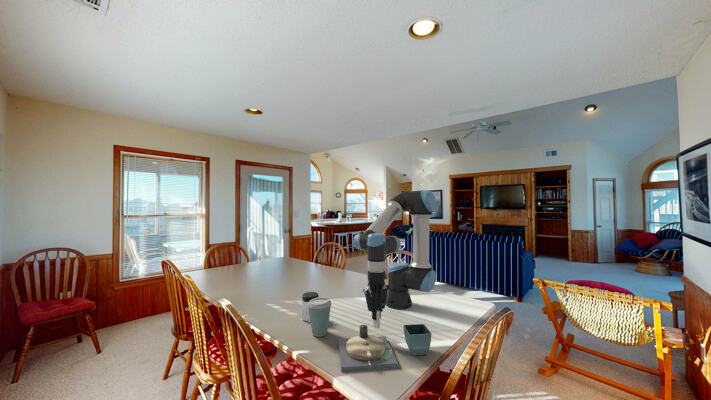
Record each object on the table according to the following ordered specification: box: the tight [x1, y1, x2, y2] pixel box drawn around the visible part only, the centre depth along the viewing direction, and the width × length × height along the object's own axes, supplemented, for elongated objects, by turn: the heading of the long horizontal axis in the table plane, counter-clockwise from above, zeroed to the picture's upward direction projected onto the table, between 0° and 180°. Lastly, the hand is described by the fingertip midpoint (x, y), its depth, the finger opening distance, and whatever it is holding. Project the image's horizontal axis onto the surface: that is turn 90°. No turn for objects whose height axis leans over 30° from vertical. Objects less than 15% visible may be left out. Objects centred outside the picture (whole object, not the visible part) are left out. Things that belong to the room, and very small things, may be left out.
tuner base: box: [338, 335, 399, 372], centre depth 105 cm, size 20×20×2 cm
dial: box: [346, 324, 385, 360], centre depth 105 cm, size 17×15×6 cm
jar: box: [301, 291, 320, 323], centre depth 139 cm, size 9×8×12 cm
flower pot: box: [403, 323, 433, 356], centre depth 107 cm, size 9×9×9 cm
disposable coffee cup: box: [308, 296, 332, 338], centre depth 122 cm, size 11×11×15 cm
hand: (376, 326), depth 115 cm, fingers closed
